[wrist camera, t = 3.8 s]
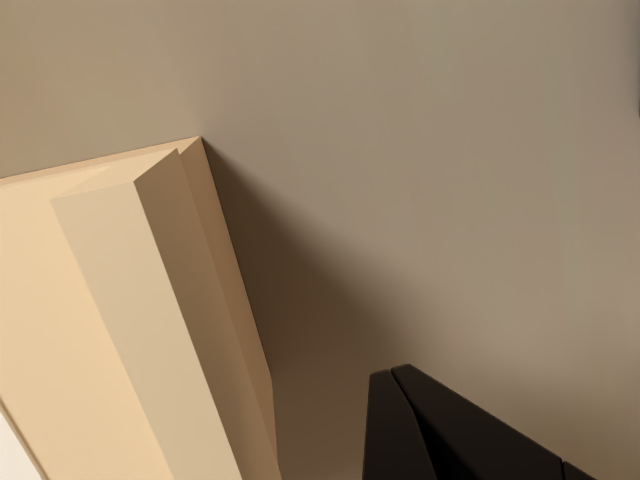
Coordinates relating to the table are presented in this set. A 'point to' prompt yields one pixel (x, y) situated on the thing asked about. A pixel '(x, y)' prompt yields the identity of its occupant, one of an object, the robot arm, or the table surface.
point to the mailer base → (221, 256)
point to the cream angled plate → (119, 334)
